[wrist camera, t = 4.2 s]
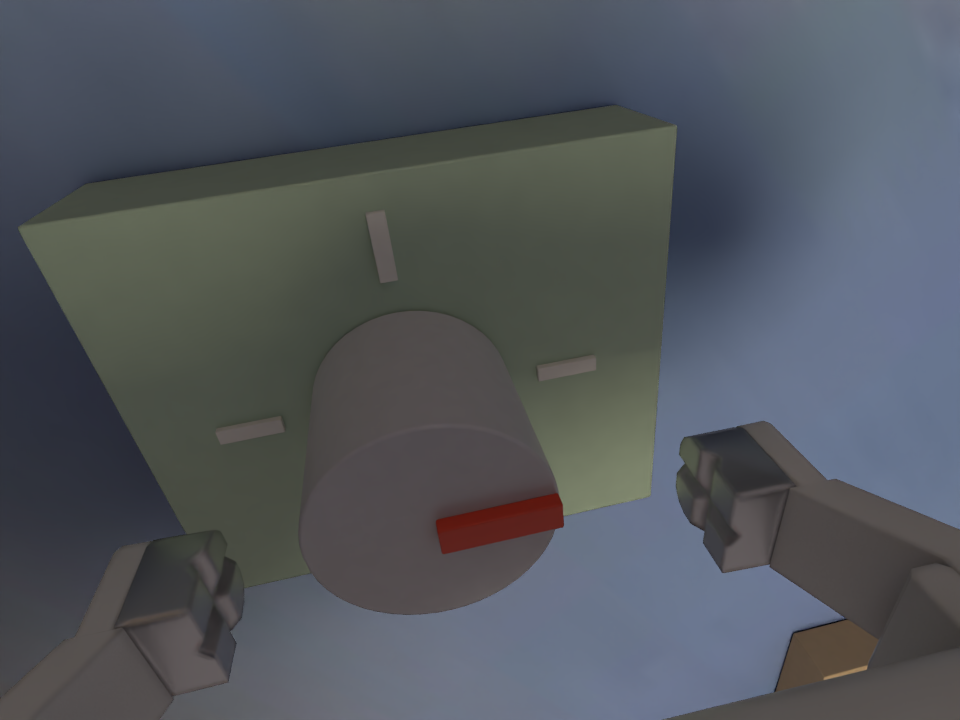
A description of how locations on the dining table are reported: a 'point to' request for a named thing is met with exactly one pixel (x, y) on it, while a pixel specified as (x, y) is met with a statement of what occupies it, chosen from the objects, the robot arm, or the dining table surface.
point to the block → (826, 654)
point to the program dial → (421, 469)
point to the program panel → (371, 300)
